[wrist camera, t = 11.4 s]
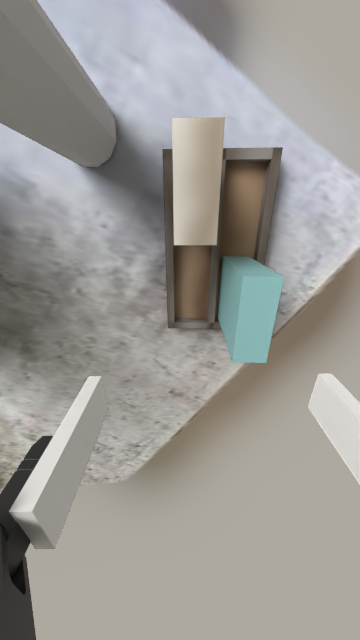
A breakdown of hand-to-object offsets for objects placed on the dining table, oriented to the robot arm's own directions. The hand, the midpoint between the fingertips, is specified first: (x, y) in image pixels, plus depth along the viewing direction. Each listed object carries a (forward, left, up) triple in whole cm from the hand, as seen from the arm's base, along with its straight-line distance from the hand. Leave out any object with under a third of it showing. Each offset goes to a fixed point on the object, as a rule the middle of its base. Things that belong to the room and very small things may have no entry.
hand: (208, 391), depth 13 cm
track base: (+2, +6, -21) cm, 22 cm away
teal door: (+5, +1, -20) cm, 21 cm away
